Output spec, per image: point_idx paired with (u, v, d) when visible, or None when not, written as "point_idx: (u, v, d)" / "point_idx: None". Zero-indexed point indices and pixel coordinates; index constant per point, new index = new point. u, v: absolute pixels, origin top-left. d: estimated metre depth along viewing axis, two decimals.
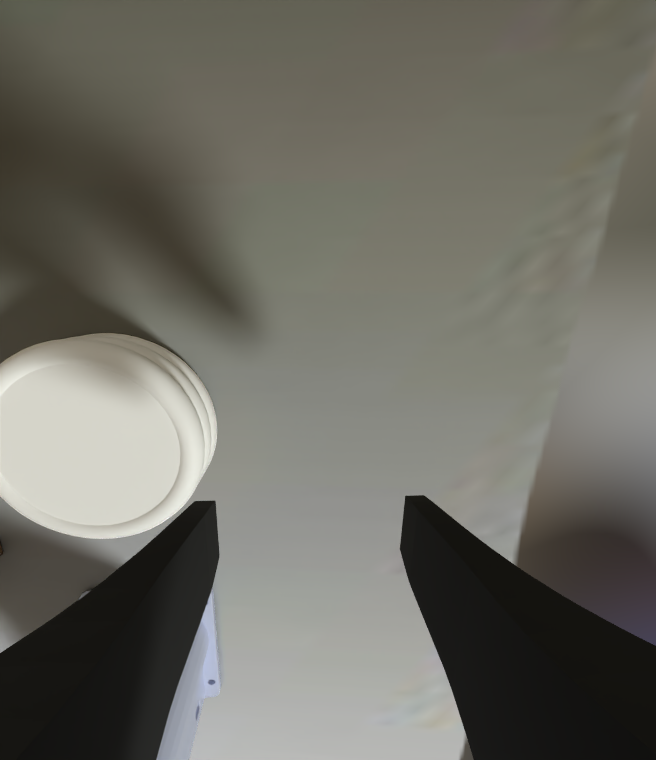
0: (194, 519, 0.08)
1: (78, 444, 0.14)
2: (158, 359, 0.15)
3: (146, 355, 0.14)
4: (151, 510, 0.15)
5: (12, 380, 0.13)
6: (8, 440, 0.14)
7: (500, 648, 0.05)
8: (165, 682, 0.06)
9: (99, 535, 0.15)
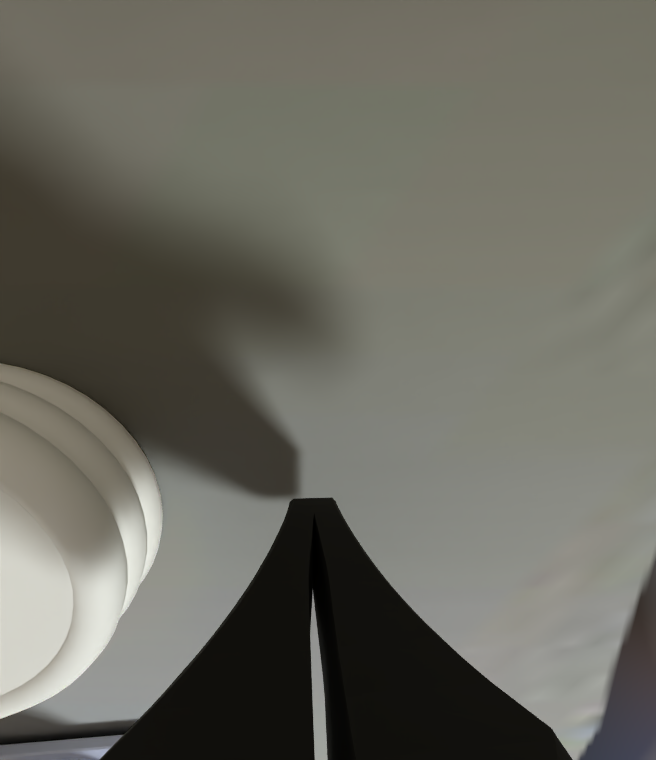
0: (306, 516, 0.08)
1: None
2: (33, 412, 0.08)
3: (8, 405, 0.08)
4: (27, 683, 0.08)
5: None
6: None
7: (334, 660, 0.05)
8: None
9: None
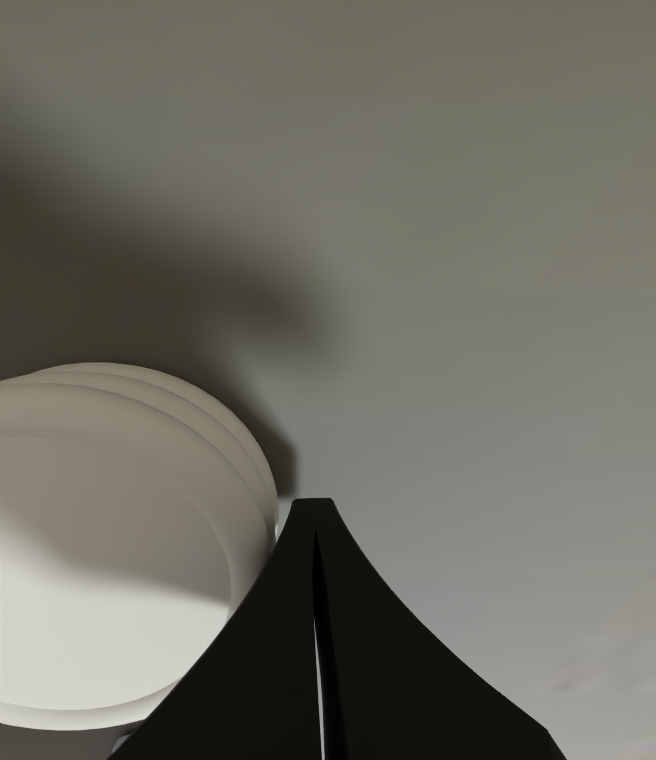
0: (308, 516, 0.08)
1: (39, 582, 0.07)
2: (191, 415, 0.08)
3: (169, 408, 0.08)
4: (175, 683, 0.08)
5: None
6: None
7: (330, 660, 0.05)
8: None
9: (81, 727, 0.08)
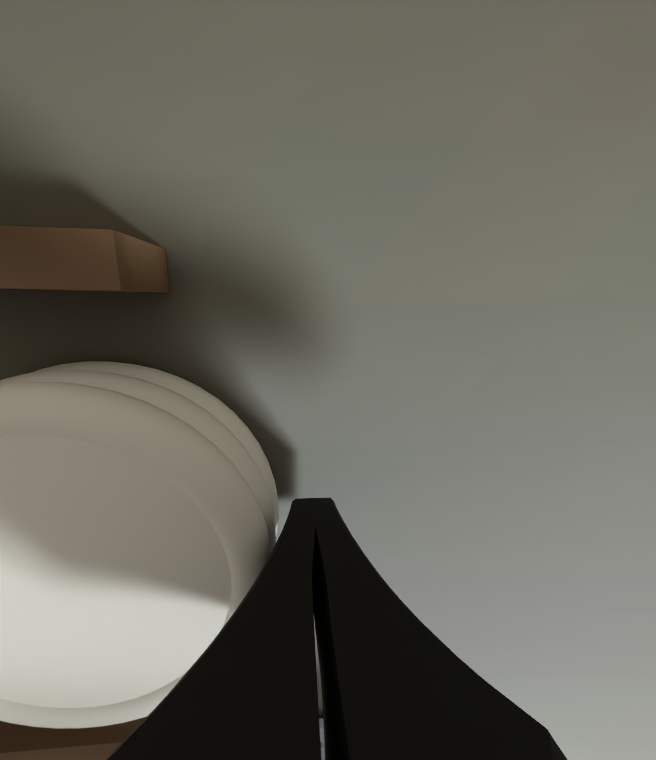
0: (308, 515, 0.08)
1: (41, 579, 0.07)
2: (192, 414, 0.08)
3: (171, 408, 0.08)
4: (174, 682, 0.08)
5: None
6: None
7: (331, 660, 0.05)
8: None
9: (80, 725, 0.08)
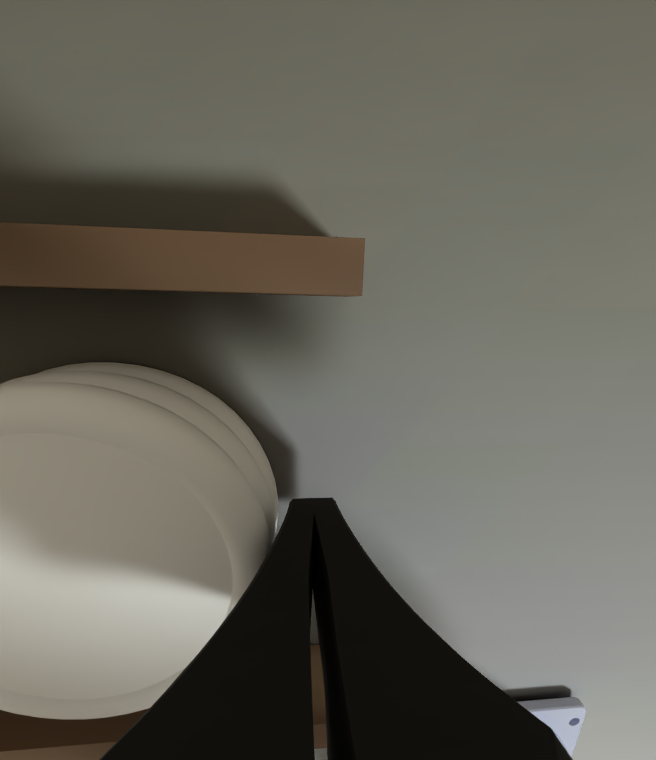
0: (306, 516, 0.08)
1: (47, 574, 0.08)
2: (195, 414, 0.08)
3: (174, 407, 0.08)
4: (177, 674, 0.09)
5: None
6: None
7: (334, 660, 0.05)
8: None
9: (85, 716, 0.09)
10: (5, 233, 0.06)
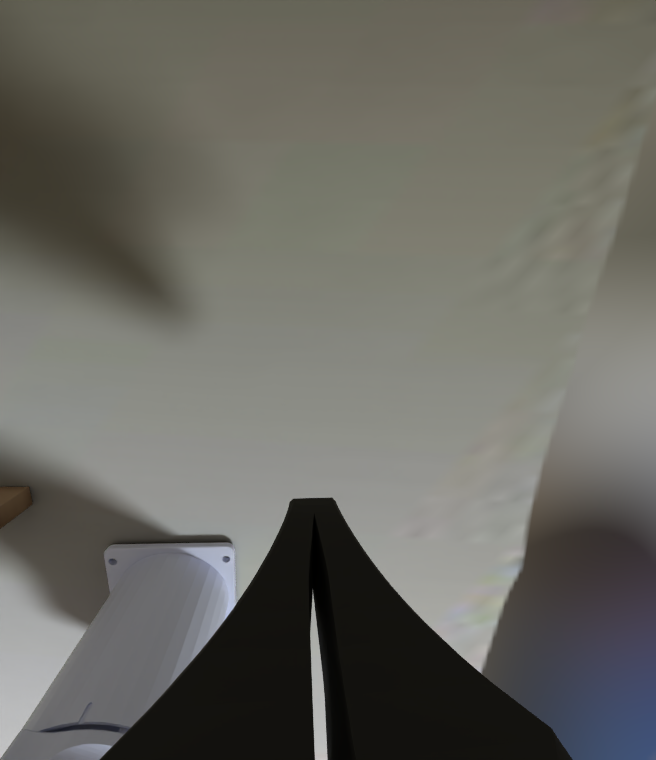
0: (306, 516, 0.08)
1: None
2: None
3: None
4: None
5: None
6: None
7: (334, 660, 0.05)
8: None
9: None
10: None
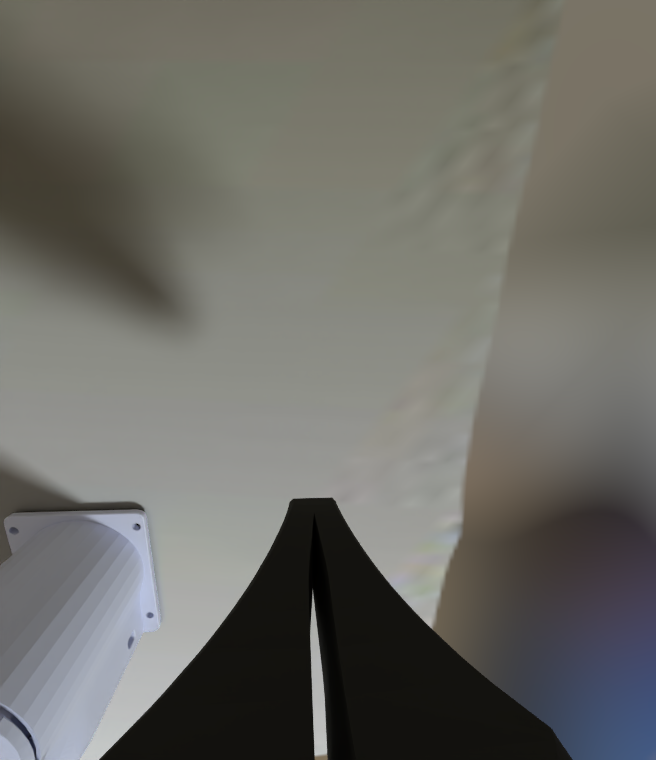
0: (306, 516, 0.08)
1: None
2: None
3: None
4: None
5: None
6: None
7: (334, 660, 0.05)
8: None
9: None
10: None
